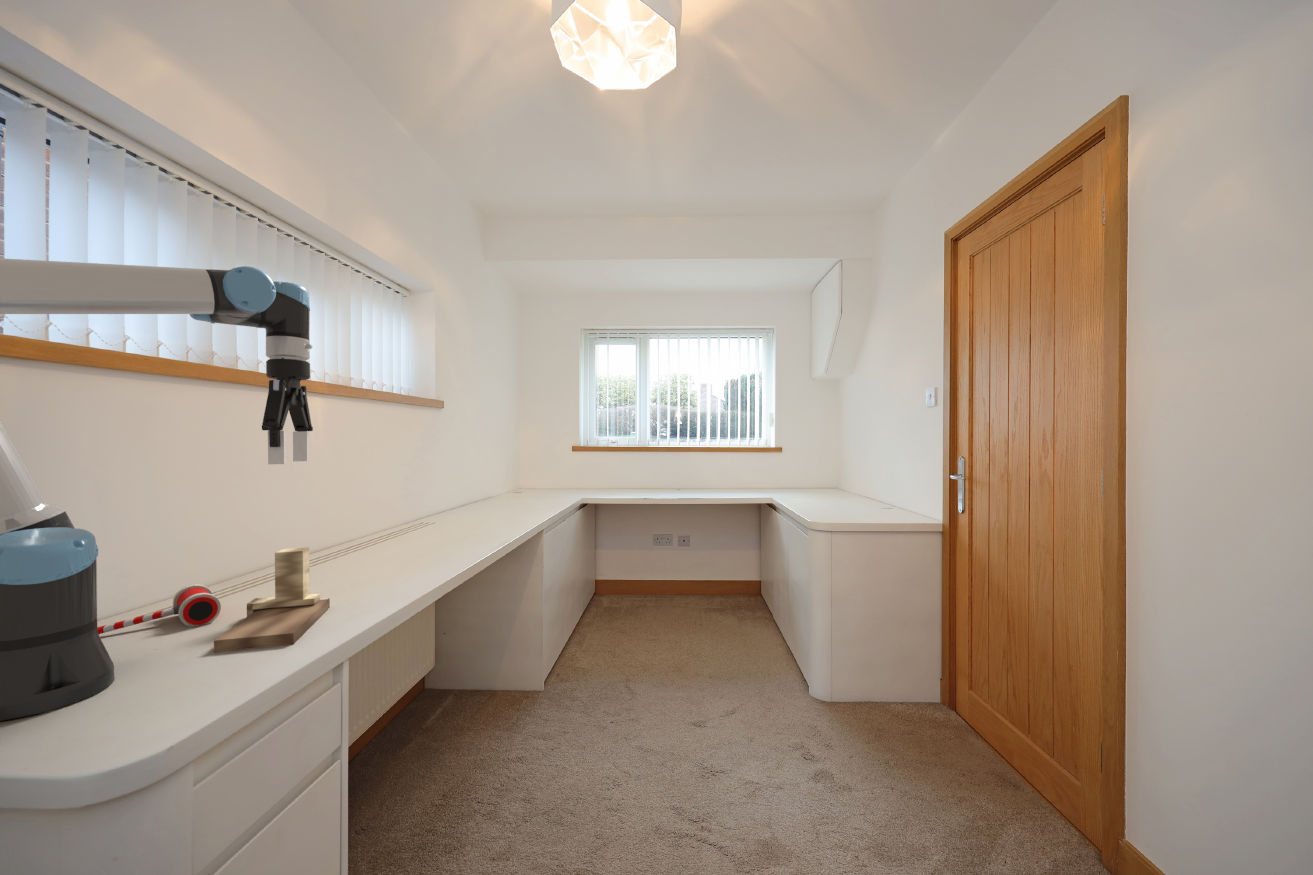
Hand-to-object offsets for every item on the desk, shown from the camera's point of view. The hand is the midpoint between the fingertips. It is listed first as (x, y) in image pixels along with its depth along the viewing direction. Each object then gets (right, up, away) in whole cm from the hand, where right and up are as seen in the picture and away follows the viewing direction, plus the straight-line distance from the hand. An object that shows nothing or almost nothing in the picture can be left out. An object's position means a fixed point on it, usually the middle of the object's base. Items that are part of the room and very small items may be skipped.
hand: (289, 462), depth 114 cm
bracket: (-1, -31, +1) cm, 31 cm away
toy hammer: (-22, -33, -5) cm, 40 cm away
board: (+2, -32, -7) cm, 32 cm away
